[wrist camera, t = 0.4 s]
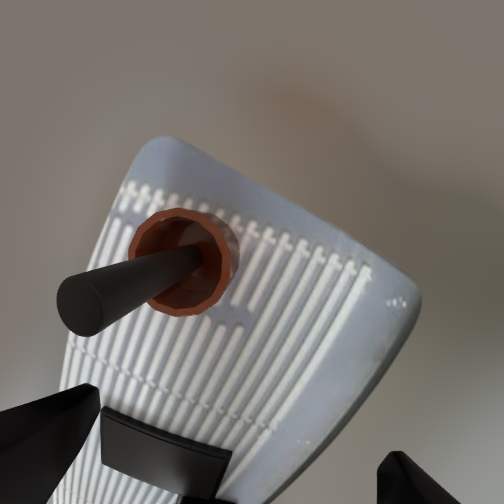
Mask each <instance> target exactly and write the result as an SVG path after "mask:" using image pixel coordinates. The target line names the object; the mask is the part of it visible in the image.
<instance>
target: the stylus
mask: <svg viewBox="0 0 504 504" xmlns="http://www.w3.org/2000/svg"><path fill="white" fill-rule="evenodd" d="M202 262H203V255H202V253H201V251H200V249H199V248H198V247H196V246H194V245H190V244H189V245H184V246H180V247H176V248H172V249H168V250H165V251H161V252H157V253H153V254H150V255H146V256H142V257H138V258H135V259H131V260H127V261H124V262H120V263H116V264H113V265H109V266H106V267H102V268H98V269H95V270H91V271H88V272H84V273H81V274H77V275H74V276H70V277H68V278H66V279H65V280H64V281H63V282H62V283H61V285H60V287H59V289H58V292H57V309H58V312H59V315H60V317H61V319H62V321H63V323H64V324H65V325H66V326H67V328H68V329H69V330H70V331H72V332H73V333H75V334H76V335H79V336H82V337H91V336H94V335H96V334H97V333H99V332H100V331H102V330H104V329H105V328H107V327H108V326H110V325H111V324H113V323H114V322H116V321H117V320H119V319H121V318H122V317H124V316H125V315H127V314H128V313H130V312H131V311H133V310H134V309H136V308H138V307H139V306H141V305H142V304H144V303H145V302H147V301H148V300H150V299H152V298H153V297H155V296H156V295H158V294H159V293H161V292H163V291H164V290H166V289H167V288H169V287H170V286H172V285H174V284H175V283H177V282H178V281H180V280H181V279H183V278H185V277H186V276H188V275H189V274H191V273H192V272H194V271H196V270H197V269H198V268H199V267H200V266H201V264H202Z"/></svg>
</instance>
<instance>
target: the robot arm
mask: <svg viewBox="0 0 504 504" xmlns="http://www.w3.org/2000/svg"><path fill="white" fill-rule="evenodd" d="M100 409H101V404H100V394H99V389H98V388H97V387H95V386H93V385H91V384H89V383H84V384H81V385H79V386H76V387H73V388H70V389H67V390H65V391H62V392H59V393H56V394H53V395H50V396H48V397H44V398H42V399H39V400H36V401H32V402H29V403H26V404H23V405H20V406H17V407H14V408H10V409H7V410H4V411H1V412H0V504H46V503H47V501H48V500H49V498H50V497H51V495H52V493H53V492H54V490H55V489H56V487H57V486H58V484H59V483H60V481H61V479H62V478H63V476H64V475H65V473H66V472H67V470H68V469H69V467H70V466H71V464H72V463H73V461H74V460H75V458H76V456H77V455H78V453H79V452H80V450H81V449H82V447H83V445H84V443H85V441H86V439H87V437H88V435H89V433H90V430H91V428H92V426H93V424H94V422H95V420H96V418H97V416H98V414H99V412H100ZM177 504H235V503H231V502H226V501H222V500H217V499H214V501H212V500H205V499H202V498H195V499H193V498H189V497H186V496H183V495H180V494H179V496H178V500H177ZM377 504H461V503H460V502H458V501H457V500H456V499H455V498H454V497H453V496H451V495H450V494H449V493H448V492H447V491H446V490H445V489H444V488H442V487H441V486H440V485H439V484H438V483H437V482H436V481H435V480H434V479H433V478H431V477H430V476H429V475H428V474H427V473H426V472H425V471H424V470H423V469H421V468H420V467H419V466H418V465H417V464H416V463H415V462H414V461H413V460H412V459H411V458H410V457H409V456H407V455H406V454H405V453H404V452H403V451H391V452H390V453H389V454H388V455H387V456H386V458H385V459H384V460H383V461H382V463H381V464H380V465H379V467H378V469H377Z"/></svg>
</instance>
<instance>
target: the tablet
mask: <svg viewBox="0 0 504 504" xmlns="http://www.w3.org/2000/svg"><path fill="white" fill-rule="evenodd" d="M100 432H101V461H102V464H104V465H106V466H108V467H110V468H113V469H115V470H117V471H119V472H121V473H124V474H126V475H128V476H131V477H133V478H135V479H138V480H140V481H143V482H145V483H148V484H151V485H153V486H156V487H159V488H162V489H164V490H167V491H170V492H173V493H176V494H180V495H183V496H186V497H189V498H193V499H195V498H202V499H205V500H212V501H214V498H215V496H216V494H217V491H218V489H219V486H220V484H221V482H222V479H223V477H224V474H225V472H226V469H227V467H228V464H229V462H230V459H231V456H232V451H228V450H225V449H221V448H217V447H213V446H210V445H206V444H203V443H200V442H196V441H193V440H190V439H187V438H184V437H181V436H178V435H175V434H172V433H169V432H166V431H164V430H161V429H158V428H156V427H153V426H150V425H148V424H145V423H143V422H140V421H138V420H135V419H133V418H131V417H128V416H126V415H124V414H122V413H119V412H117V411H115V410H113V409H111V408H108V407H106V406H104V407H103V408H102V409H101V410H100Z"/></svg>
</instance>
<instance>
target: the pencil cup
mask: <svg viewBox="0 0 504 504" xmlns="http://www.w3.org/2000/svg"><path fill="white" fill-rule="evenodd" d="M189 244H190V245H194V246H196V247H198V248H199V249H200V251H201V253H202V255H203V262H202V264H201V266H200V267H199V268H198V269H197V270H196V271H194V272H192V273H191V274H189V275H188V276H186V277H185V278H183V279H181V280H180V281H178V282H177V283H175V284H174V285H172V286H170V287H169V288H167V289H166V290H164V291H163V292H161V293H159V294H158V295H156V296H155V297H153V298H152V299H150V300H148V301H147V303H148V304H149V305H150V306H151V307H152V308H153V309H155V310H157V311H160V312H163V313H165V314H168V315H171V316H174V317H183V316H191V315H198V314H201V313H202V312H204V311H205V310H207V309H208V308H209V307H211V306H212V305H214V304H215V303H217V302H218V301H219V300H220V298H221V297H222V295H223V294H224V292H225V291H226V289H227V288H228V286H229V285H230V283H231V281H232V279H233V278H234V276H235V274H236V272H237V270H238V266H239V257H240V254H239V246H238V242H237V239H236V237H235V235H234V233H233V232H232V230H231V228H230V227H229V226H228V225H227V224H226V223H225V222H224V221H222V220H221V219H219V218H218V217H217V216H215V215H212V214H209V213H204V212H201V211H196V210H190V209H184V208H173V209H169V210H164V211H160V212H156V213H154V214H153V215H152V216H151V217H150V218H148V219H147V220H146V221H145V222H144V223H143V224H141V225H140V226H139V227H138V228H137V231H136V233H135V235H134V237H133V240H132V242H131V244H130V246H129V250H128V260H131V259H135V258H138V257H142V256H146V255H150V254H153V253H157V252H161V251H165V250H168V249H172V248H176V247H180V246H184V245H189Z"/></svg>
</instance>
